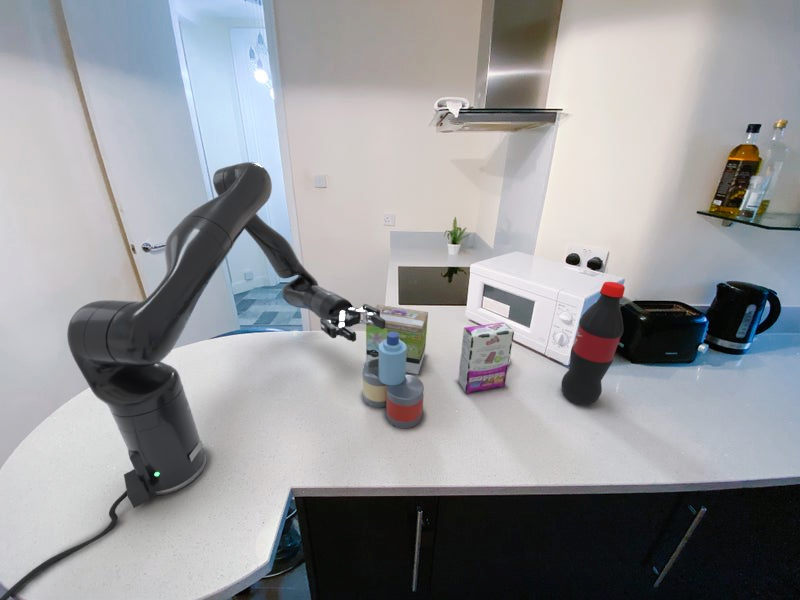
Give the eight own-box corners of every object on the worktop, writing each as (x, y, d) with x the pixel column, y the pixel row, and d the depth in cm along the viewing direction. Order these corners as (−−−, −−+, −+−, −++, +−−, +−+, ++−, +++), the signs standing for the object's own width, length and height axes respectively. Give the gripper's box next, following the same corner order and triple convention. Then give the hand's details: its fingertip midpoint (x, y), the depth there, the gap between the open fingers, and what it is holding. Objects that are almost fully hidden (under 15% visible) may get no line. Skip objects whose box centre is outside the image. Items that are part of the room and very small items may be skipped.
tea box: (365, 366, 87) (364, 319, 81) (376, 347, 96) (376, 303, 90) (419, 375, 84) (422, 327, 78) (425, 355, 93) (428, 310, 87)
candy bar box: (494, 375, 85) (504, 321, 78) (504, 387, 80) (516, 331, 74) (456, 381, 82) (463, 326, 75) (464, 394, 78) (473, 336, 71)
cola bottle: (592, 389, 81) (630, 279, 68) (601, 412, 73) (646, 293, 61) (556, 382, 83) (587, 274, 70) (562, 404, 75) (597, 288, 63)
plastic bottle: (391, 389, 67) (392, 345, 62) (373, 376, 70) (372, 333, 66) (410, 377, 70) (413, 334, 66) (392, 365, 74) (393, 324, 70)
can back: (378, 413, 71) (378, 384, 68) (356, 395, 76) (355, 367, 73) (403, 396, 76) (404, 369, 73) (381, 380, 81) (381, 354, 78)
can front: (403, 434, 66) (405, 405, 62) (378, 413, 71) (378, 385, 68) (429, 415, 71) (431, 387, 68) (404, 397, 76) (405, 369, 73)
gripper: (304, 302, 76) (343, 326, 66) (352, 287, 85) (393, 307, 75) (307, 329, 79) (345, 356, 69) (353, 312, 88) (392, 334, 78)
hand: (370, 331), depth 72 cm, fingers open, 8 cm apart
